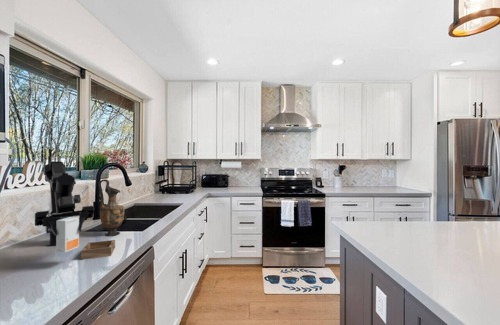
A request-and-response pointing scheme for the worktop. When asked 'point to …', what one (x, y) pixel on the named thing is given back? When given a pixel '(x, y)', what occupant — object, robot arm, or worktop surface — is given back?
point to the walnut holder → (98, 249)
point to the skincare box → (67, 234)
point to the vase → (110, 210)
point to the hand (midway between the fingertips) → (68, 233)
